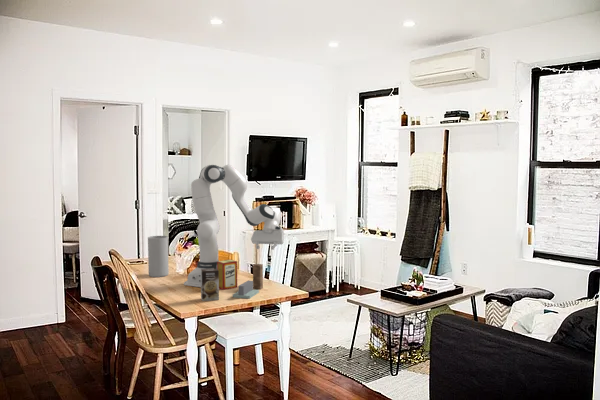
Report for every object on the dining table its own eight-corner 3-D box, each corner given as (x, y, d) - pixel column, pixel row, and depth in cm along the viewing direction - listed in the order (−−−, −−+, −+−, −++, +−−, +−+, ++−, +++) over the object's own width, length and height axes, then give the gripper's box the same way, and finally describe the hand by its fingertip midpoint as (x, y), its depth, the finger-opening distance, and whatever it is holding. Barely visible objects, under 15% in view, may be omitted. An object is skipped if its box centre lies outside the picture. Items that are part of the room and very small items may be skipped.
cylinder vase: (165, 277, 350) (164, 238, 348) (146, 277, 351) (145, 238, 349) (170, 273, 363) (169, 235, 361) (151, 273, 363) (151, 235, 361)
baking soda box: (223, 289, 317) (223, 262, 316) (217, 287, 322) (217, 260, 321) (237, 287, 323) (237, 260, 322) (231, 285, 328) (231, 258, 327)
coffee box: (202, 301, 292) (201, 271, 290) (201, 298, 298) (200, 268, 297) (219, 300, 294) (218, 270, 293) (217, 297, 300) (217, 267, 299)
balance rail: (232, 297, 300) (232, 285, 299) (242, 291, 313) (242, 280, 313) (249, 298, 297) (249, 286, 296) (258, 292, 310) (258, 281, 310)
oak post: (253, 289, 319) (252, 265, 318) (255, 287, 322) (255, 263, 321) (260, 289, 317) (260, 265, 316) (262, 287, 321) (262, 264, 320)
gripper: (252, 227, 339) (247, 245, 330) (284, 227, 333) (279, 246, 324) (255, 233, 343) (250, 251, 335) (286, 234, 337) (282, 252, 329)
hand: (264, 248), depth 329 cm, fingers open, 8 cm apart
